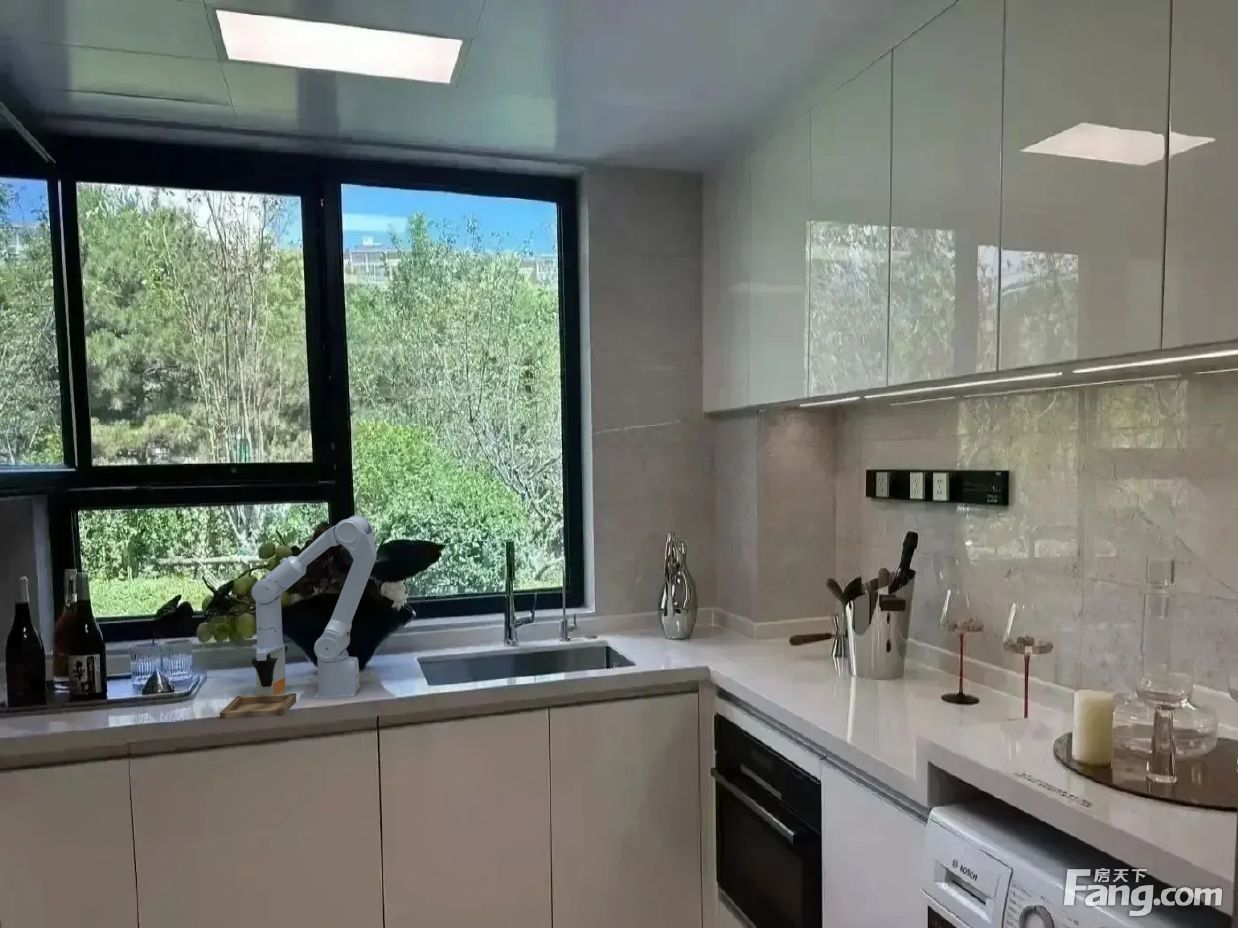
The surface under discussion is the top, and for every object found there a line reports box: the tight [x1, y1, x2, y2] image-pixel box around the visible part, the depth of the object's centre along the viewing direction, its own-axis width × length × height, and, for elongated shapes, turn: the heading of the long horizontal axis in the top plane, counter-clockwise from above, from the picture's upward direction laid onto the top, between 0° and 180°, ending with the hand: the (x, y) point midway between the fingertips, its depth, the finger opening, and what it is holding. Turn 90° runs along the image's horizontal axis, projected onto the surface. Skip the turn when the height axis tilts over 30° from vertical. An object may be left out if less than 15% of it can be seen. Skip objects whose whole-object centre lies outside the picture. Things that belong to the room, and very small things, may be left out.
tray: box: [219, 692, 297, 720], centre depth 188 cm, size 13×11×2 cm
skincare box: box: [255, 644, 287, 695], centre depth 201 cm, size 6×4×12 cm
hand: (271, 681), depth 201 cm, fingers open, 7 cm apart
